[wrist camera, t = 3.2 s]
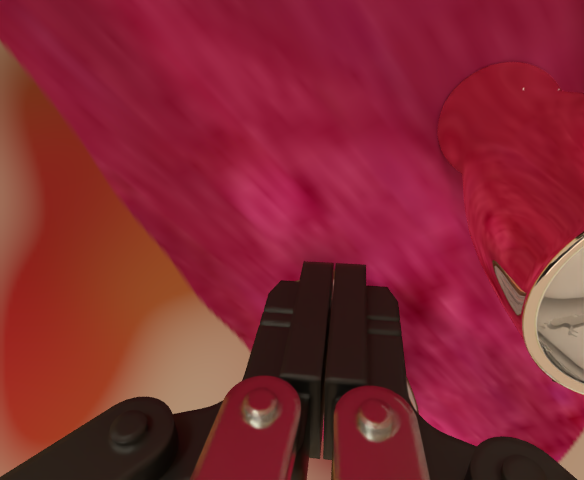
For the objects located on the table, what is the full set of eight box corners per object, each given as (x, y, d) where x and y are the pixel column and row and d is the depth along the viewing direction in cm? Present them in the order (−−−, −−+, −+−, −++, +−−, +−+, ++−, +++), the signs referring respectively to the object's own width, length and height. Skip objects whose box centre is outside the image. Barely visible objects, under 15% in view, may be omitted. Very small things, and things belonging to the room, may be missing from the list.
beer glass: (574, 162, 23) (845, 391, 10) (442, 197, 25) (529, 424, 12) (566, 28, 20) (943, 117, 7) (415, 81, 22) (495, 223, 9)
